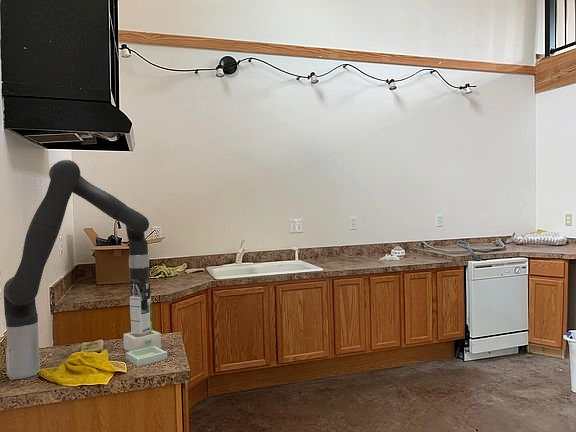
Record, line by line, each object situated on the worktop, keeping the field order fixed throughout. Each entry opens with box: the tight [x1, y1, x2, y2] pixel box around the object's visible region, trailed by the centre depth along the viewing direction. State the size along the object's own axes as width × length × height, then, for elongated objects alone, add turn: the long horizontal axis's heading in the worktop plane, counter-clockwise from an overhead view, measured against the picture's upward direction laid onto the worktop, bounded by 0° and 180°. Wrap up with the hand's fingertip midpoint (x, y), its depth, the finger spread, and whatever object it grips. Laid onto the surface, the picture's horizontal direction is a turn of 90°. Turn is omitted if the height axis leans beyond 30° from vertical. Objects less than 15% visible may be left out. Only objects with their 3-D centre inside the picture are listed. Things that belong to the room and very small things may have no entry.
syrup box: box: [129, 294, 153, 335], centre depth 175 cm, size 6×6×14 cm
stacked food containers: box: [122, 329, 162, 352], centre depth 175 cm, size 11×11×6 cm
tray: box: [125, 346, 169, 368], centre depth 163 cm, size 11×11×2 cm
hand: (140, 308), depth 175 cm, fingers closed on syrup box, 6 cm apart
